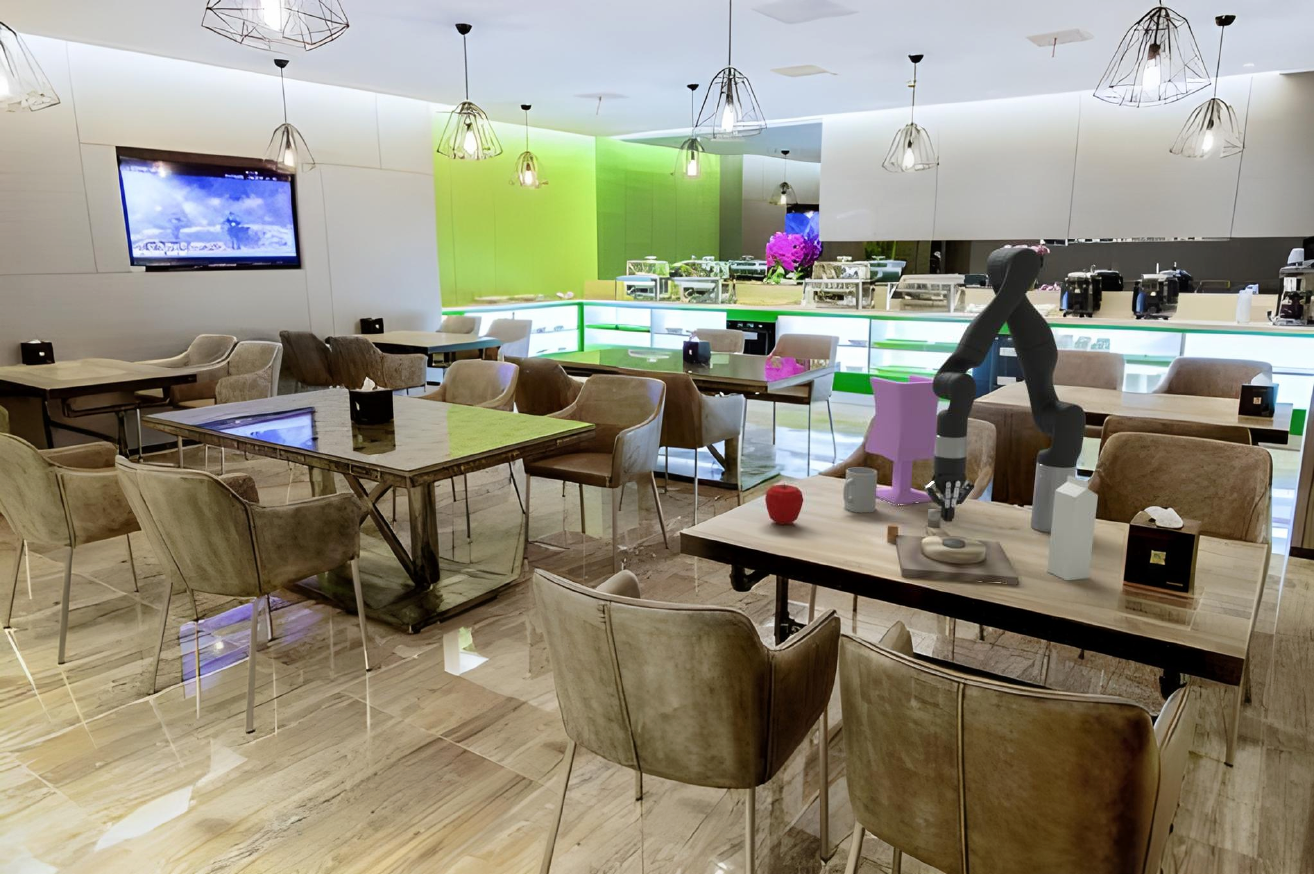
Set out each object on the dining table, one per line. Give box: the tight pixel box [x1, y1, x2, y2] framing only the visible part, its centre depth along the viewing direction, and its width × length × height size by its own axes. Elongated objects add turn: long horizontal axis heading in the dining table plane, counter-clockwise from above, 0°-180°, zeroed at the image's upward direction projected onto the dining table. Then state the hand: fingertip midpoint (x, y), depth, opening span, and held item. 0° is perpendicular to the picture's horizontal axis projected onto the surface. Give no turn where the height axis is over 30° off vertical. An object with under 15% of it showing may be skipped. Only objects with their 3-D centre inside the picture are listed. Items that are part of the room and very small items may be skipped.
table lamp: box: [864, 374, 940, 506], centre depth 245 cm, size 16×16×35 cm
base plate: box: [886, 522, 1019, 585], centre depth 196 cm, size 26×26×4 cm
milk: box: [1046, 476, 1099, 581], centre depth 185 cm, size 6×6×22 cm
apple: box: [764, 483, 804, 525], centre depth 222 cm, size 10×10×11 cm
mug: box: [842, 466, 878, 513], centre depth 235 cm, size 12×8×11 cm
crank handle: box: [921, 508, 986, 564], centre depth 198 cm, size 22×14×6 cm, turn 1°
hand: (947, 520), depth 209 cm, fingers closed
